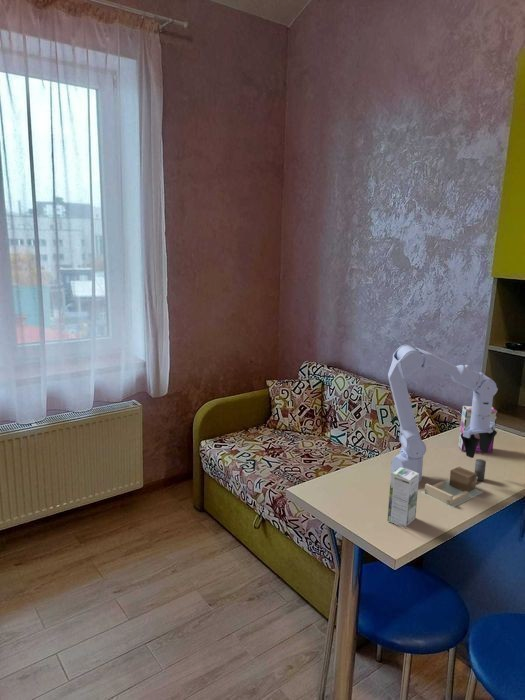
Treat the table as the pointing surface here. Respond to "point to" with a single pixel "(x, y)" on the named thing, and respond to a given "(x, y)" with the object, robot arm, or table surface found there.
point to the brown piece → (467, 476)
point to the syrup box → (403, 497)
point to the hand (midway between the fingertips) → (476, 453)
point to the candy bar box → (466, 422)
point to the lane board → (449, 493)
